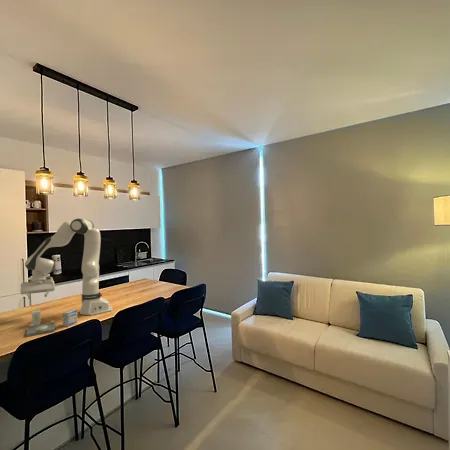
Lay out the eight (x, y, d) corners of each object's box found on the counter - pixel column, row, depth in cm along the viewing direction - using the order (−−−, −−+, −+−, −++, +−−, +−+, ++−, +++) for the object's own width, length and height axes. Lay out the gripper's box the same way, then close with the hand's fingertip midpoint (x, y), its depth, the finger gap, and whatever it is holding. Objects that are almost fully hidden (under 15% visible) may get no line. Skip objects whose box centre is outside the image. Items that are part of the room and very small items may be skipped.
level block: (40, 322, 175) (40, 309, 175) (40, 324, 171) (40, 311, 171) (32, 323, 172) (32, 310, 173) (31, 325, 169) (31, 312, 169)
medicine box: (68, 326, 167) (68, 313, 167) (62, 326, 168) (62, 313, 168) (77, 322, 175) (77, 309, 175) (71, 321, 175) (71, 309, 176)
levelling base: (54, 324, 171) (54, 319, 171) (54, 331, 159) (54, 326, 159) (28, 328, 163) (28, 324, 163) (26, 336, 151) (26, 331, 151)
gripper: (20, 280, 183) (18, 296, 175) (54, 277, 194) (54, 292, 186) (21, 285, 187) (19, 301, 179) (55, 282, 198) (54, 297, 190)
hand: (37, 297), depth 182 cm, fingers open, 8 cm apart
